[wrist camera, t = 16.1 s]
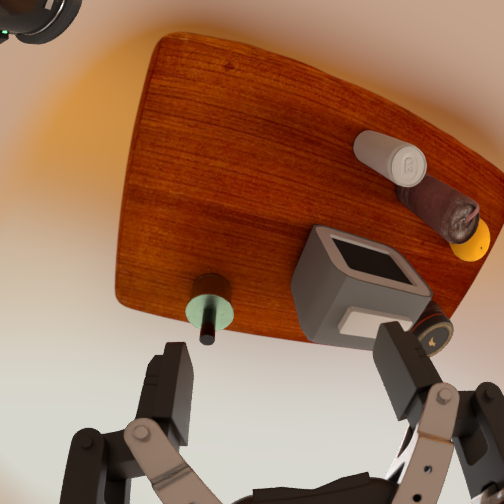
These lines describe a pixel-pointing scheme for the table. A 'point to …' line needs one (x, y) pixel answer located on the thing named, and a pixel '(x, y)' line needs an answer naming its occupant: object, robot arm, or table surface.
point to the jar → (433, 329)
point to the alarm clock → (354, 289)
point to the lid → (209, 314)
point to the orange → (473, 244)
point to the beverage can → (391, 157)
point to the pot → (211, 286)
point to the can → (442, 208)
